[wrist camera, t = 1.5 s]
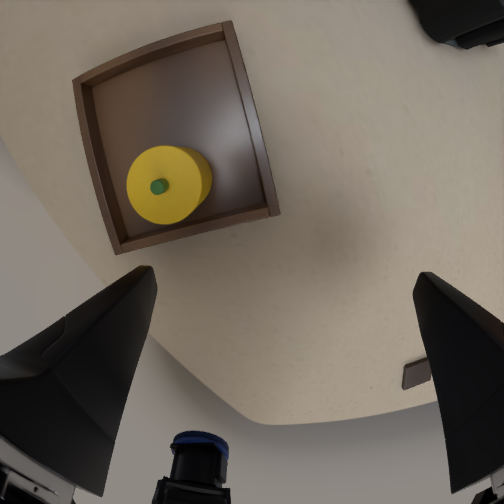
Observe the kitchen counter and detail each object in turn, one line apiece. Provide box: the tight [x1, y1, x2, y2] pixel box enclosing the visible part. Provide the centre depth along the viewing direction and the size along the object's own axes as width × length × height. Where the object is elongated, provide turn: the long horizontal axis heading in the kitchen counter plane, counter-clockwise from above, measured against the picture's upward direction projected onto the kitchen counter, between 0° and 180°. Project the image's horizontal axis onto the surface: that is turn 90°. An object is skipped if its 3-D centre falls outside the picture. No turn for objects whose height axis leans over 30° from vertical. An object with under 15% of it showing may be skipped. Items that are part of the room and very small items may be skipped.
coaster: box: [402, 357, 431, 390], centre depth 30 cm, size 4×4×1 cm
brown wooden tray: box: [72, 21, 281, 255], centre depth 21 cm, size 14×16×2 cm
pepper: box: [127, 145, 212, 224], centre depth 19 cm, size 5×5×7 cm
